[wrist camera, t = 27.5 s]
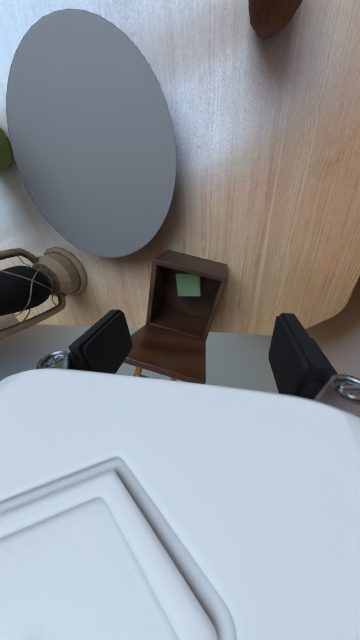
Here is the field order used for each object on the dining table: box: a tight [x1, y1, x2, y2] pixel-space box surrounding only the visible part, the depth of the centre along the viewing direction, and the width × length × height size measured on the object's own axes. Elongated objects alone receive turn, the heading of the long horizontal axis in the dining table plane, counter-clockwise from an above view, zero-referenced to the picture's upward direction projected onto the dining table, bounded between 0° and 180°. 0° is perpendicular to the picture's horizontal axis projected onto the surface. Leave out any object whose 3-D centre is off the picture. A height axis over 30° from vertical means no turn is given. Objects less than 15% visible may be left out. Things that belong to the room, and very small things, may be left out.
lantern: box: [0, 247, 87, 342], centre depth 32 cm, size 14×12×30 cm
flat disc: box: [6, 9, 176, 257], centre depth 30 cm, size 28×28×4 cm
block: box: [176, 271, 203, 296], centre depth 36 cm, size 4×4×4 cm
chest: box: [146, 250, 228, 342], centre depth 36 cm, size 14×13×9 cm
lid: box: [124, 325, 206, 384], centre depth 29 cm, size 14×13×5 cm
